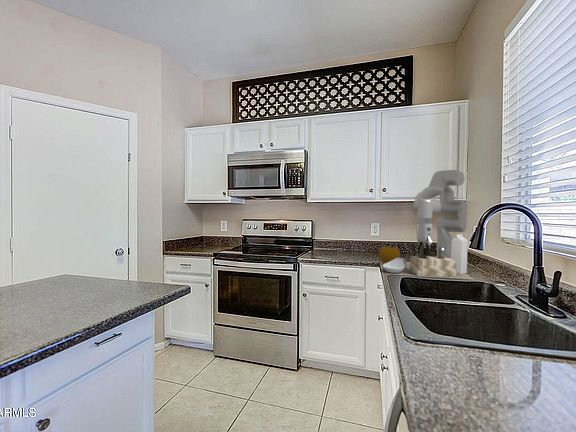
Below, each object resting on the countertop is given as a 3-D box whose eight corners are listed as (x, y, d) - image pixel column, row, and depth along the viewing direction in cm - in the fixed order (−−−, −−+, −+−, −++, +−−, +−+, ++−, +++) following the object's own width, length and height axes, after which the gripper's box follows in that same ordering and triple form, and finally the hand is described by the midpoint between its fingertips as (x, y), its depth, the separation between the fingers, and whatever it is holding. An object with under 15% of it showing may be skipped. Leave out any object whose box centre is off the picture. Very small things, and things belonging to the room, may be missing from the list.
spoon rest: (400, 275, 162) (400, 262, 162) (379, 272, 169) (379, 259, 169) (413, 269, 180) (413, 257, 180) (393, 267, 188) (393, 255, 187)
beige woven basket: (445, 272, 171) (445, 246, 171) (456, 276, 160) (456, 248, 160) (410, 271, 171) (410, 245, 171) (418, 275, 160) (419, 247, 160)
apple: (379, 261, 205) (379, 245, 205) (399, 263, 201) (400, 246, 201) (378, 264, 193) (379, 247, 193) (400, 266, 189) (400, 248, 189)
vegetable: (424, 275, 163) (425, 238, 163) (417, 273, 167) (418, 237, 166) (429, 274, 166) (430, 237, 166) (421, 272, 169) (422, 237, 169)
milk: (450, 272, 173) (451, 233, 173) (456, 271, 176) (457, 233, 176) (461, 274, 168) (462, 234, 168) (467, 273, 171) (467, 234, 171)
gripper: (439, 222, 157) (438, 256, 157) (424, 221, 174) (423, 252, 174) (425, 222, 157) (424, 256, 157) (411, 221, 174) (410, 252, 174)
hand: (423, 254), depth 166 cm, fingers open, 5 cm apart
